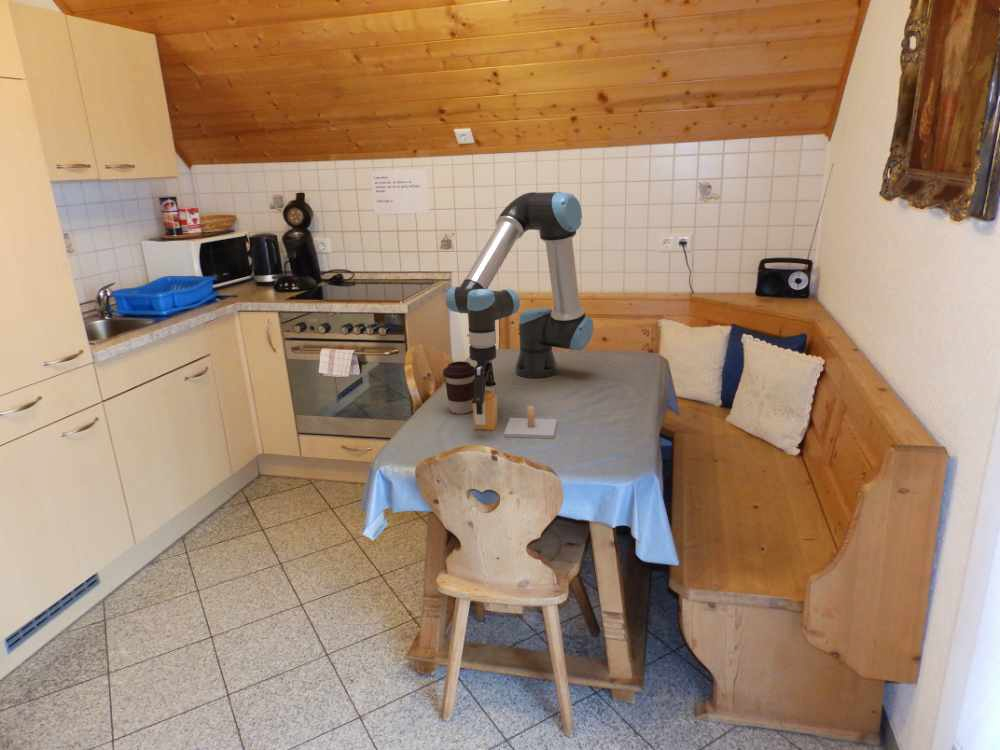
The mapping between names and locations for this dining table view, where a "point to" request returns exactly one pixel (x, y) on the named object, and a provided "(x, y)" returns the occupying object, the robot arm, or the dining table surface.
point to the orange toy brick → (488, 412)
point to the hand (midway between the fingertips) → (485, 415)
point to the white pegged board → (531, 426)
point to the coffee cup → (460, 386)
